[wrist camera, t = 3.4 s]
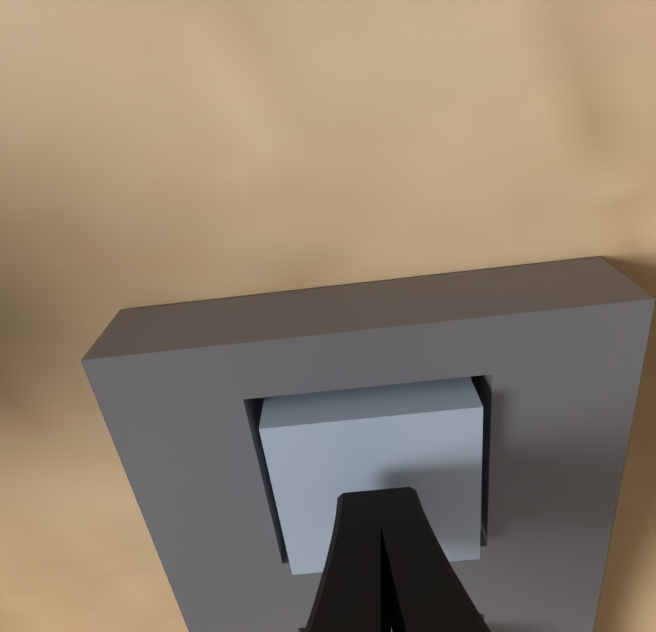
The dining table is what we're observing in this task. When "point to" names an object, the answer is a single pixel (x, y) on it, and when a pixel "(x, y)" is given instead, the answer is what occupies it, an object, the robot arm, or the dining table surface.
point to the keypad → (376, 370)
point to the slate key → (375, 459)
